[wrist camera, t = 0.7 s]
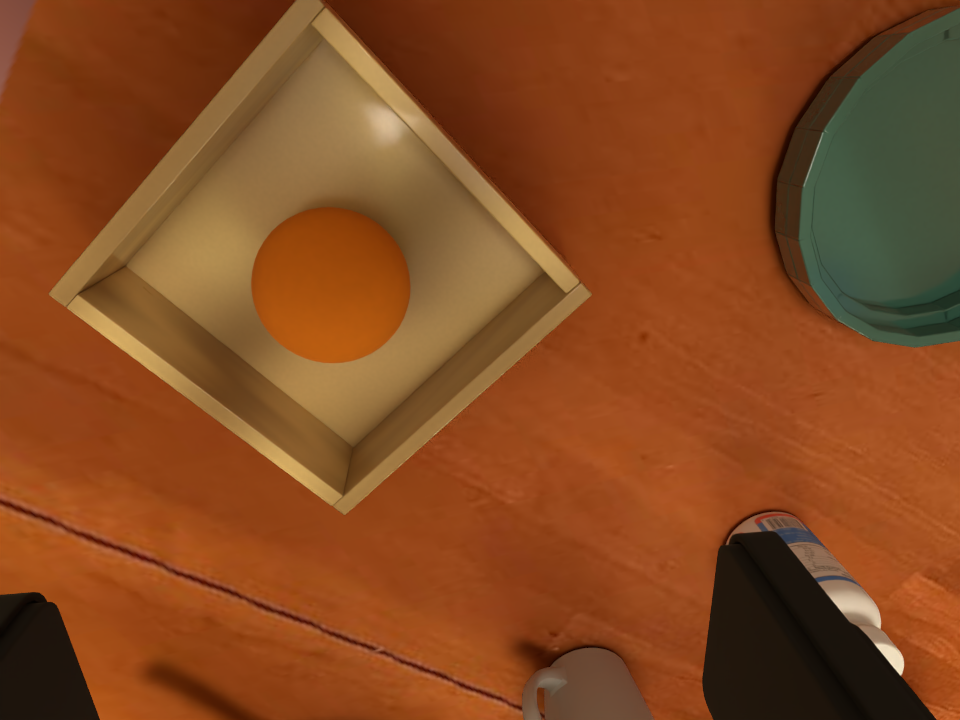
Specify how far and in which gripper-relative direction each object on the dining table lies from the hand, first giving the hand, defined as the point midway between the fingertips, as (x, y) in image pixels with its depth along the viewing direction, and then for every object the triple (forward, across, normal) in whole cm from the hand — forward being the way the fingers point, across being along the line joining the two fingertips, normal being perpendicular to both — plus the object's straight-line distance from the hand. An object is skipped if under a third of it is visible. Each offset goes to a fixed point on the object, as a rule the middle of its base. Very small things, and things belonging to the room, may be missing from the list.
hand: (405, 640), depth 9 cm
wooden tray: (+24, +4, 0) cm, 24 cm away
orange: (+20, +4, 0) cm, 20 cm away
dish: (+24, -25, -2) cm, 34 cm away
